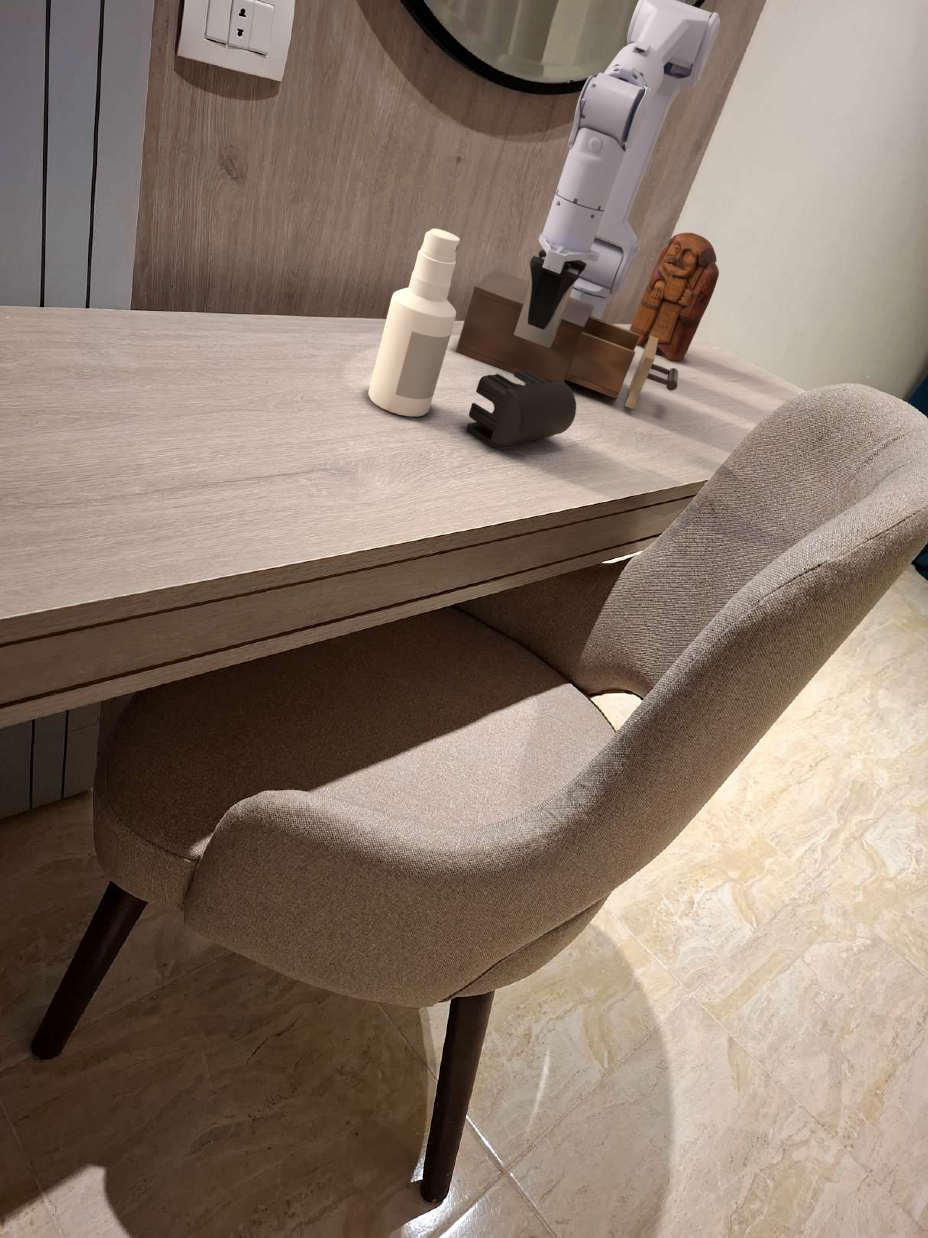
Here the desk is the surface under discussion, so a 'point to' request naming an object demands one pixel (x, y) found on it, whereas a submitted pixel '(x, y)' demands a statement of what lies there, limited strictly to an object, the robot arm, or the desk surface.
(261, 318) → the desk surface
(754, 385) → the desk surface
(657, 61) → the robot arm
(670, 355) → the wooden figurine
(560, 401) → the end cap
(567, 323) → the cabinet
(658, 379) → the drawer
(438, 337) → the spray bottle
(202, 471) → the desk surface
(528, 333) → the grey rectangular block
